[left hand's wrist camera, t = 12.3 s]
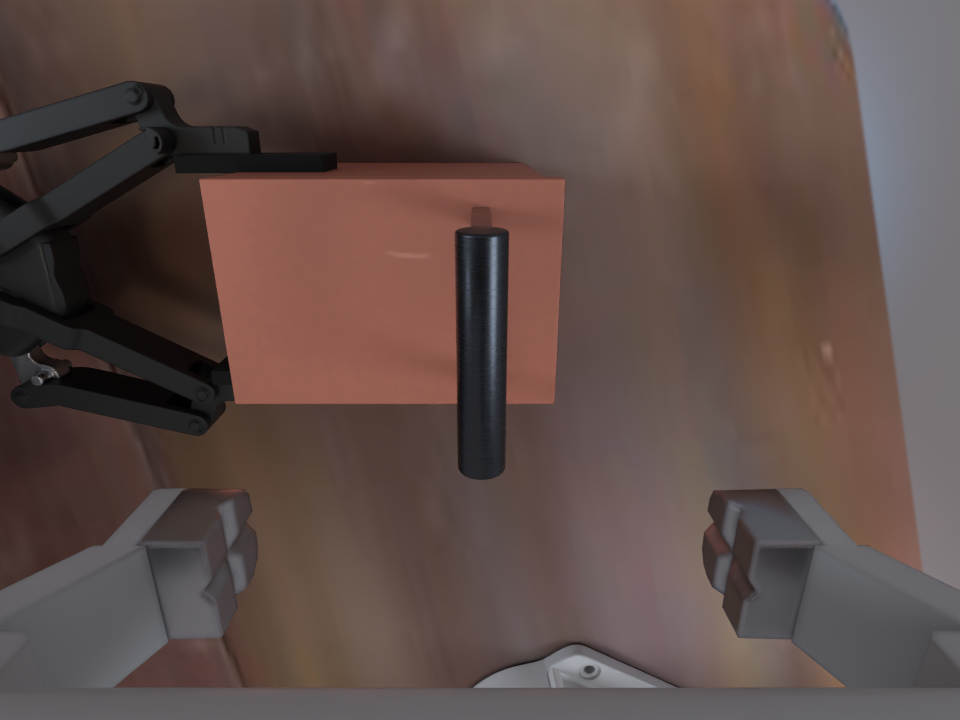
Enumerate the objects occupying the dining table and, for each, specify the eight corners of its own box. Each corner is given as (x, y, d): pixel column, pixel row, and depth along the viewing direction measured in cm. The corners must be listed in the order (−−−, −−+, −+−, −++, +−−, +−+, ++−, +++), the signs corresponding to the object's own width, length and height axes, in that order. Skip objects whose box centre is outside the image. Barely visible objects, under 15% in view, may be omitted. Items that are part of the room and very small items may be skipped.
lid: (561, 176, 24) (604, 200, 16) (551, 392, 27) (581, 504, 19) (212, 176, 24) (74, 200, 16) (245, 392, 27) (146, 504, 19)
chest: (524, 162, 34) (543, 176, 24) (520, 321, 37) (535, 392, 27) (291, 162, 34) (212, 176, 24) (308, 321, 37) (245, 392, 27)
